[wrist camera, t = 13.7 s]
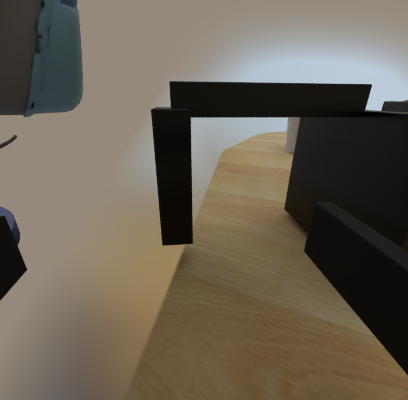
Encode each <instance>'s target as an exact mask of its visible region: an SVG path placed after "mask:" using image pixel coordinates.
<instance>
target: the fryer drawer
mask: <svg viewBox="0 0 408 400" xmlns="http://www.w3.org/2000/svg"><path fill="white" fill-rule="evenodd" d="M371 87H372V85H371V84H314V83H312V84H311V83H249V82H248V83H247V82H183V81H181V82H180V81H170V99H171V107H168V108H167V107H156V108H154V109H151V115H152V127H153V139H154V151H155V163H156V175H157V186H158V197H159V210H160V222H161V234H162V245H180V244H192V243H193V226H192V168H191V117H300V121H299V126H298V132H297V138H296V144H295V150H294V156H293V162H292V167H291V173H290V179H289V185H288V191H287V197H286V203H285V208H284V209H285V210H286V211H287V212H288V213H289V214H290V215H291V216H292V217H293V218H294V219H295V220H296V221H297V222H298V223H299V224H300V225H301V226H302V227H303V228H304V229H305V230H306V231H307V232H309V228H310V224H311V219H312V215H313V211H314V207H315V202H332V203H334V204H335V205H337V206H338V207H340V208H341V209H343V210H344V211H346V212H347V213H349V214H350V215H352V216H353V217H355V218H356V219H358V220H359V221H361V222H363V223H364V224H366V225H367V226H369V227H370V228H372V229H373V230H375V231H376V232H378V233H379V234H381V235H382V236H384V237H385V238H387V239H388V240H390V241H391V242H393V243H394V244H396V245H397V246H399V247H400V248H402V249H403V250H405V251H406V252H408V112H390V111H371V110H365V108H366V105H367V101H368V98H369V94H370V91H371Z"/></svg>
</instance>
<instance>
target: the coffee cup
mask: <svg viewBox="0 0 408 400" xmlns="http://www.w3.org/2000/svg"><path fill="white" fill-rule="evenodd" d="M299 121H300V117H288V126H287V141H286V152H288V153H293V154H294V150H295V144H296V138H297V132H298V126H299Z"/></svg>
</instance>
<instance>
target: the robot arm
mask: <svg viewBox="0 0 408 400" xmlns="http://www.w3.org/2000/svg"><path fill="white" fill-rule="evenodd" d="M82 93H83V72H82V51H81V37H80V25H79V14H78V9H77V0H0V115H23V116H24V117H29V116H32V115H33V114H38V113H57V112H67V111H70V110H73V109H74V108H75V107H76V106H77V105H78V104H79V103H80V101H81V98H82ZM16 138H17V136H16V135H14V136H13V137H12V138H11V139H10V140H8V141H6V142H4V143H2V144H0V148H2V147H4V146H6V145H8V144H9V143H11V142H12V141H14V140H15V139H16ZM304 252H305V253H306V254H307V255H308V257H309V258H310V259H311V260H312V261H313V263H314V264H315V265H316V266H317V267H318V269H319V270H320V271H321V272H322V273H323V275H324V276H325V277H326V278H327V279H328V281H329V282H330V283H331V284H332V285H333V286H334V288H335V289H336V290H337V291H338V292H339V294H340V295H341V296H342V297H343V298H344V300H345V301H346V302H347V303H348V304H349V306H350V307H351V308H352V309H353V310H354V312H355V313H356V314H357V315H358V316H359V317H360V319H361V320H362V321H363V322H364V323H365V325H366V326H367V327H368V328H369V329H370V331H371V332H372V333H373V334H374V335H375V337H376V338H377V339H378V340H379V341H380V343H381V344H382V345H383V346H384V347H385V349H386V350H387V351H388V352H389V353H390V354H391V356H392V357H393V358H394V359H395V360H396V362H397V363H398V364H399V365H400V366H401V368H402V369H403V370H404V371H405V372H406V374H407V375H408V252H406V251H405V250H403V249H402V248H400V247H399V246H397V245H396V244H394V243H393V242H391V241H390V240H388V239H387V238H385V237H384V236H382V235H381V234H379V233H378V232H376V231H375V230H373V229H372V228H370V227H369V226H367V225H366V224H364V223H363V222H361V221H359V220H358V219H356V218H355V217H353V216H352V215H350V214H349V213H347V212H346V211H344V210H343V209H341V208H340V207H338V206H337V205H335V204H334V203H332V202H315V207H314V211H313V215H312V219H311V224H310V228H309V232H308V236H307V241H306V245H305V249H304ZM26 271H27V268H26V266H25V263H24V261H23V258H22V256H21V253H20V251H19V248H18V246H17V244H16V241H15V239H14V236H13V234H12V231H11V229H10V226H9V224H8V221H7V219H6V217H5V216H0V300H1V299H2V298H3V297H4V296H5V295H6V293H7V292H8V291H9V290H10V289H11V288H12V286H13V285H14V284H15V283H16V282H17V281H18V280H19V279H20V277H21V276H22V275H23V274H24V273H25V272H26Z"/></svg>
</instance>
